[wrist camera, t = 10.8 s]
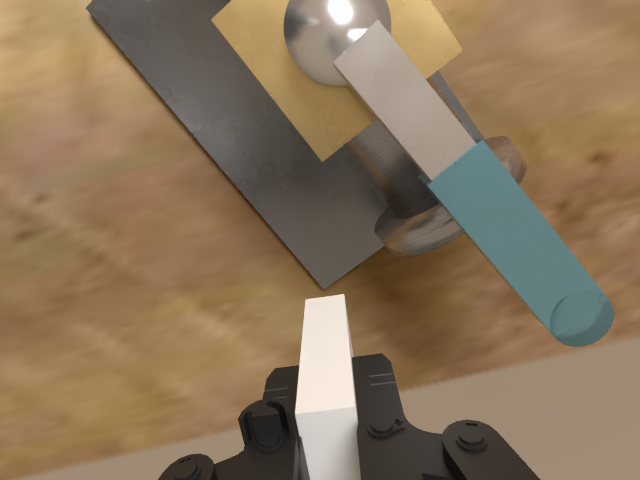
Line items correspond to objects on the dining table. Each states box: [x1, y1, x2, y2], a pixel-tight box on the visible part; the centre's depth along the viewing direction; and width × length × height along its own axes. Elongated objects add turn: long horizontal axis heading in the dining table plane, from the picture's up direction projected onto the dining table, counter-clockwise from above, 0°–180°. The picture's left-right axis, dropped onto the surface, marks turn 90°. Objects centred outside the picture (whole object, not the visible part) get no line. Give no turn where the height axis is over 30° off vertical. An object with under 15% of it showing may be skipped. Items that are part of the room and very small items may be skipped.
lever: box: [284, 0, 614, 347], centre depth 19 cm, size 4×20×4 cm, turn 42°
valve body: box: [86, 0, 527, 289], centre depth 25 cm, size 24×15×10 cm, turn 38°
